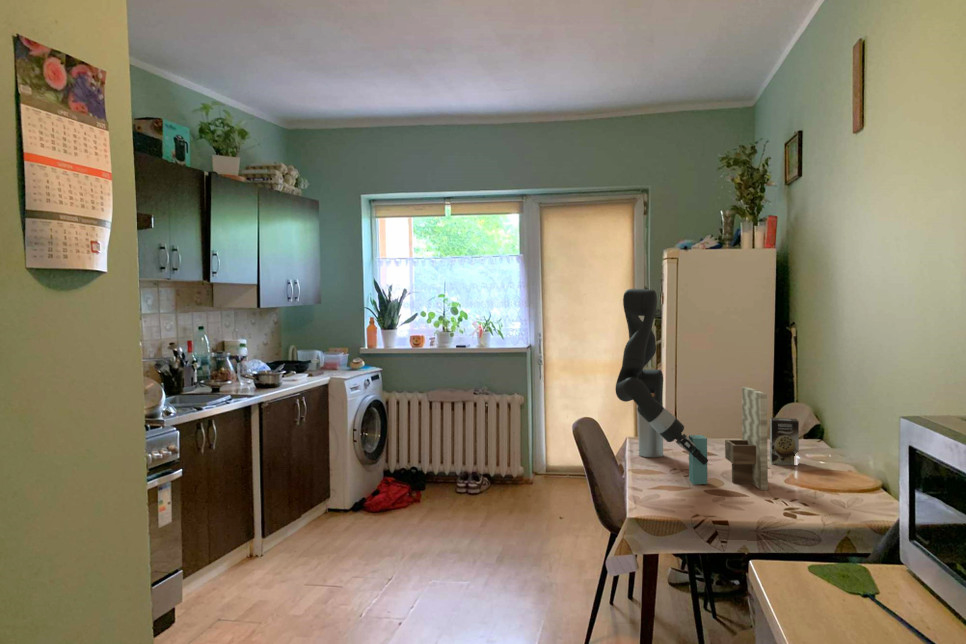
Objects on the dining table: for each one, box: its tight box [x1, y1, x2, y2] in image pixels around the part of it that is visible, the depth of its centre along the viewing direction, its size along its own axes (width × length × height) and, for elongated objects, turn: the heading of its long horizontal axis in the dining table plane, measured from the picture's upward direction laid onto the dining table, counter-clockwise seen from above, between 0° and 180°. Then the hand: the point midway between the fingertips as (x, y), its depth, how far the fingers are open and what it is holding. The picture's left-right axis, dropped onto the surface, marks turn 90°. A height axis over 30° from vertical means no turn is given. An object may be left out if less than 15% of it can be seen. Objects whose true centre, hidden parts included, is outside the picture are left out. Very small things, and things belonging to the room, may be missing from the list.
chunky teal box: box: [688, 434, 708, 486], centre depth 218 cm, size 6×4×15 cm
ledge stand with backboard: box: [724, 386, 769, 491], centre depth 217 cm, size 18×9×30 cm, turn 176°
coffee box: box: [769, 417, 800, 467], centre depth 242 cm, size 9×6×16 cm
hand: (703, 460), depth 218 cm, fingers closed on chunky teal box, 5 cm apart
